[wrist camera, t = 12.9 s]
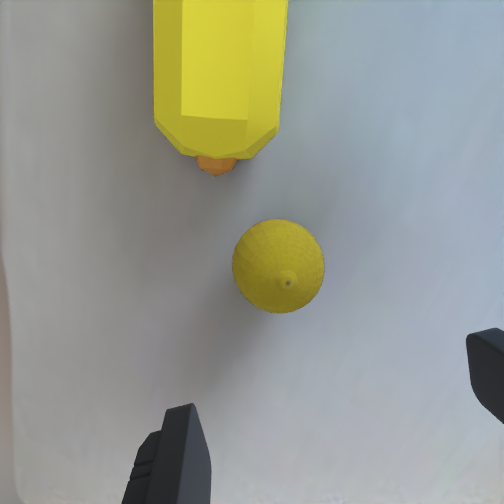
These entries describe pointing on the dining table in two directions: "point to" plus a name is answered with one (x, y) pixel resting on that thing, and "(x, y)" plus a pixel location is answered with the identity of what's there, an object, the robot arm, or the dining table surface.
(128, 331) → the dining table surface
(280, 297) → the lemon
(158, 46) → the yellow faceted capsule
